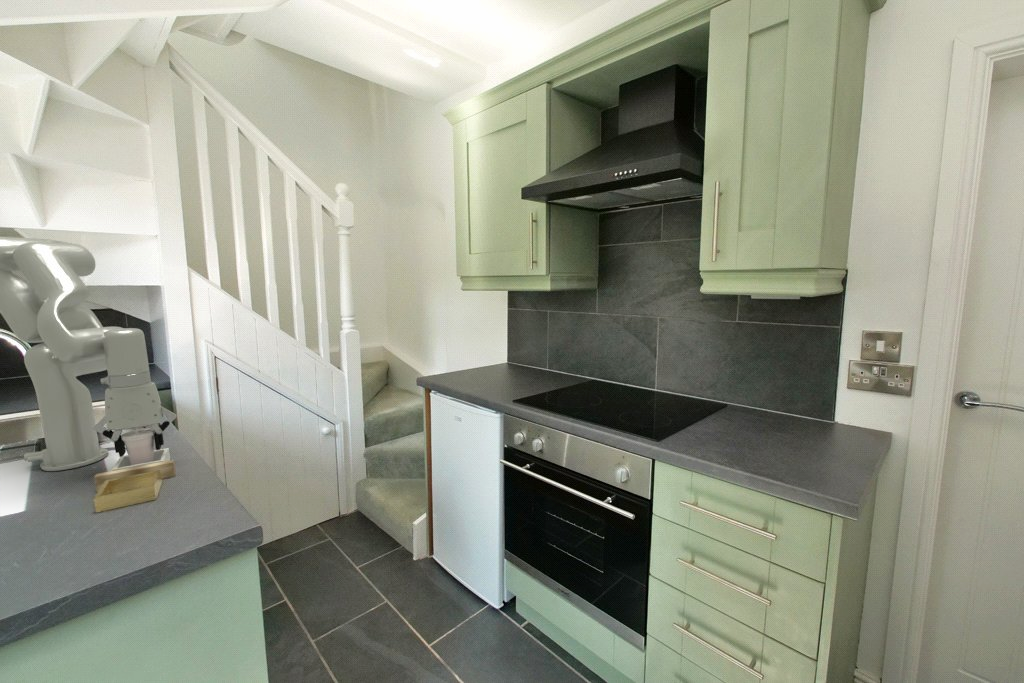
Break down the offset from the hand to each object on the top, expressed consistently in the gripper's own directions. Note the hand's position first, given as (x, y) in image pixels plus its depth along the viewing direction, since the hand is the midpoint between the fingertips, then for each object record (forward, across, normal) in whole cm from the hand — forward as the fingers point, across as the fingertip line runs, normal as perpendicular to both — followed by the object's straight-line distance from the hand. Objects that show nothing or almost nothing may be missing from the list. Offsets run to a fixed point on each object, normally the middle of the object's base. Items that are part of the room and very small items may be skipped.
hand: (140, 450), depth 109 cm
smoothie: (+5, 0, 0) cm, 5 cm away
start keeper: (+5, 0, 0) cm, 5 cm away
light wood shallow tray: (+5, 0, -16) cm, 17 cm away
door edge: (+5, 0, -8) cm, 9 cm away
